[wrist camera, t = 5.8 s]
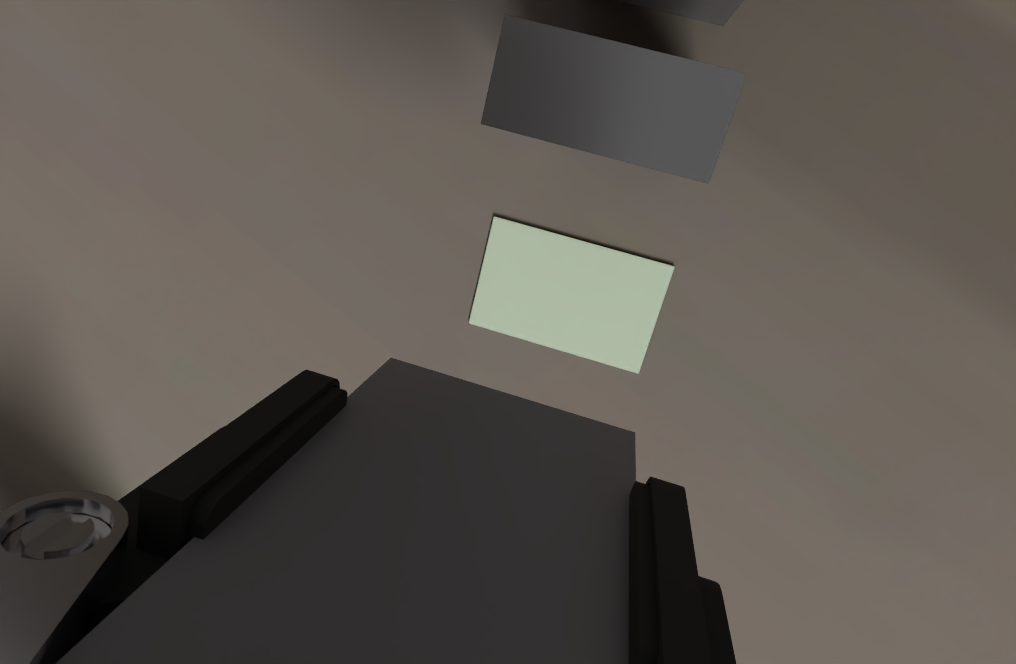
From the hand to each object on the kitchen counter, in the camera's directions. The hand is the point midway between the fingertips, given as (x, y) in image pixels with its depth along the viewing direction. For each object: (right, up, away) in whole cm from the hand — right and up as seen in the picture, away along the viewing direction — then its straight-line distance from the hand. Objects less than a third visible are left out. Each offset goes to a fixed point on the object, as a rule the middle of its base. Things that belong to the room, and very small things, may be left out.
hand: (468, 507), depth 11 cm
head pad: (+3, +4, +14) cm, 15 cm away
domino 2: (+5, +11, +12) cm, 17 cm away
